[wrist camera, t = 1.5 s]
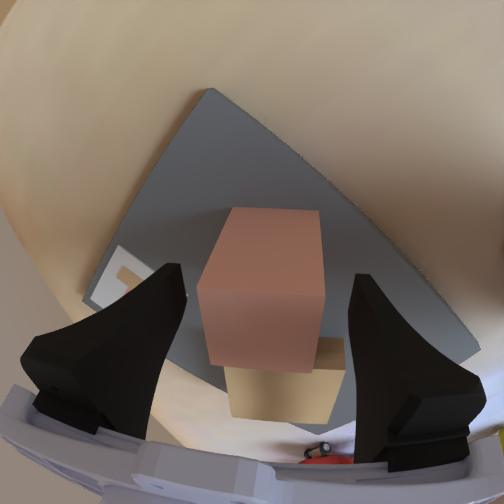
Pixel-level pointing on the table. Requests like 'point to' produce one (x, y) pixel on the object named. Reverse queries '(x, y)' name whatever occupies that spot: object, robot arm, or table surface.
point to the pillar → (264, 291)
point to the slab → (289, 389)
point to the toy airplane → (324, 456)
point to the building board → (259, 196)
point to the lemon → (501, 438)
